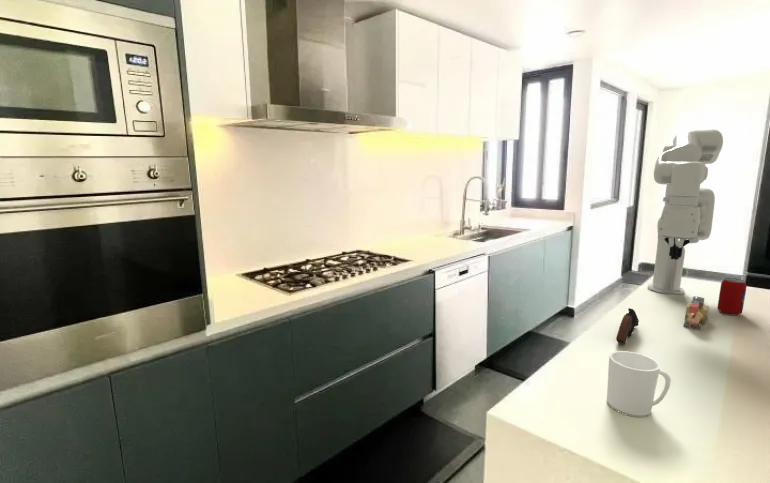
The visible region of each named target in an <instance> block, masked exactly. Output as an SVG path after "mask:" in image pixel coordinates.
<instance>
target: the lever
mask: <svg viewBox="0 0 770 483" xmlns="http://www.w3.org/2000/svg"><path fill="white" fill-rule="evenodd" d="M690 303H691V305H690V307H689V313H693V314H697V312H698V310H699V307H703V305H704V304H705V298H704V297H702V296H701V297H700V296H692V302H690Z"/></svg>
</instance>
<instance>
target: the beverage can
mask: <svg viewBox="0 0 770 483" xmlns="http://www.w3.org/2000/svg"><path fill="white" fill-rule="evenodd" d="M746 293H747V284H746V281H745V280H743V279H741V278H736V277H735V278H734V277H725V278H724V279H723V280H722V281H721V283H720V287H719V293H718V294H719V295H718V301H717V307H716V308H717V310H718V311H720V313H722V314H725V315H729V316H730V315H731V316H738V315H741V314H743V310H744V305H745V299H746Z"/></svg>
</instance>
